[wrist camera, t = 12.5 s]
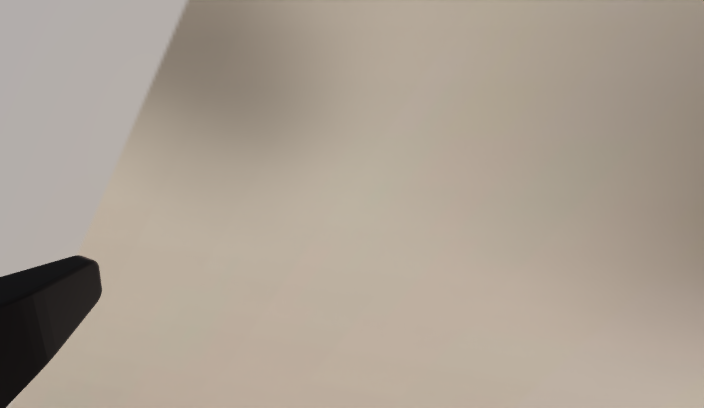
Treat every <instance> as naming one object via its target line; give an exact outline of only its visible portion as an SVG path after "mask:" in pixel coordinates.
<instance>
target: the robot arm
mask: <svg viewBox="0 0 704 408" xmlns="http://www.w3.org/2000/svg"><path fill="white" fill-rule="evenodd" d="M101 293H102V286H101V278H100V271H99V265H98V263H97V262H96V261H94V260H92V259H89V258H86V257H83V256H72V257H69V258H65V259H62V260H59V261H55V262H51V263H48V264H45V265H41V266H37V267H34V268H31V269H27V270H24V271H20V272H17V273H13V274H10V275H6V276H3V277H0V408H6V407H7V406H8V405H9V403H11V401H12V400H13V399H14V398H15V397H16V396H17V395H18V394H19V393H20V392H21V391H22V390H23V389H24V388H25V387H26V386H27V385H28V384H29V383H30V382H31V381H32V380H33V379H34V378H35V376H36V375H37V374H38V373H39V372H40V371H41V370H42V369H43V368H44V367H45V366H46V365H47V364H48V363H49V361H50V360H51V359H52V358H53V357H54V355H55V354H56V353H57V352H58V351H59V349H60V348H61V347H62V346H63V344H64V343H65V342H66V341H67V339H68V338H69V337H70V336H71V334H72V333H73V332H74V331H75V329H76V328H77V327H78V326H79V324H80V323H81V322H82V321H83V319H84V318H85V317H86V316H87V314H88V313H89V312H90V311H91V309H92V308H93V307H94V306H95V304H96V303H97V302H98V300H99V298H100V296H101Z"/></svg>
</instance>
